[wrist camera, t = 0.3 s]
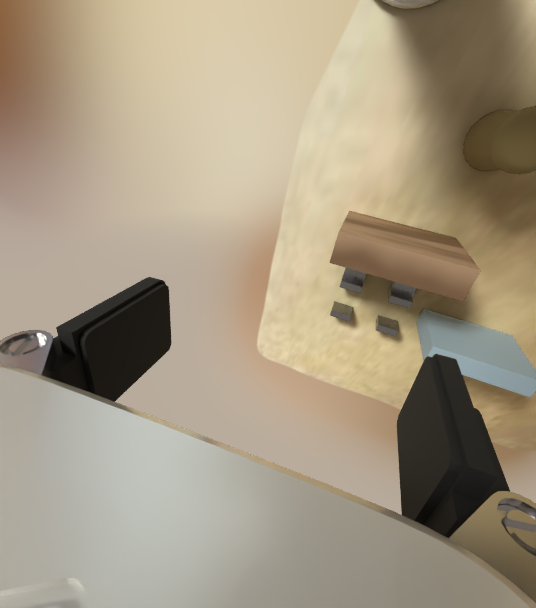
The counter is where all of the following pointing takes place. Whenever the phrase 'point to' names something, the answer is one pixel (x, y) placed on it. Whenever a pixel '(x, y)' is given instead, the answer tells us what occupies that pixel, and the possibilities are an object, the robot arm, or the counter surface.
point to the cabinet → (405, 255)
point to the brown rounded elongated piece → (503, 142)
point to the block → (477, 351)
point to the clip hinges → (396, 295)
